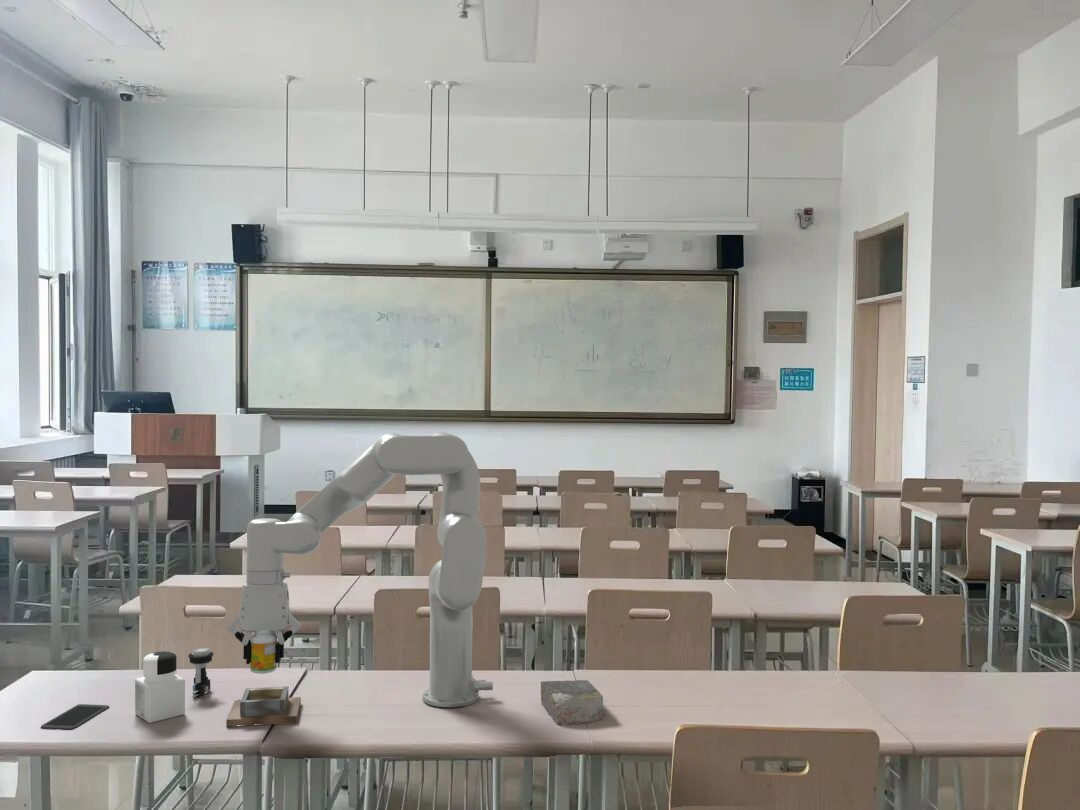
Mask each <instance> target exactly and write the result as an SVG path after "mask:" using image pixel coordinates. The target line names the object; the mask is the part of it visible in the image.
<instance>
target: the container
mask: <svg viewBox="0 0 1080 810" xmlns="http://www.w3.org/2000/svg"><path fill="white" fill-rule="evenodd" d="M142 663H143V664H142V665H143V673H142V674H143V675H142V676H141V677H136V678H135V680H134V683H135V684H134V698H135V699H134V713H135V715H137V716H138V717H139V718H141V719H143V720H145V721H146V722H147V723H150V724H152V723H156V722H160V721H163V720H168V719H173V718H176V717H179V716H184V715H185V713H186V680H185V678H183V677H181V676H179V674H177V655H176V654H175V653H174V652H171V651H166V650H165V651H156V652H152V653H149V654H147V655H146V656H144V658H143V661H142Z"/></svg>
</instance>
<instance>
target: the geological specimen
mask: <svg viewBox="0 0 1080 810" xmlns="http://www.w3.org/2000/svg"><path fill="white" fill-rule="evenodd" d="M540 703H541V706H542V707H543V708H544V710H545V711H546V712H547V713H548V715H549V716H550V717H551V719H552V721H554V722H555V724H556V726H571V725H580V724H589V723H592V722H595V721H599V720H600V721H601V720H603V715H602V713H603V712H602V711H603V710H602V709H603V705H604V697H603V694H602V693H601V692H600V691H599V690H598V689H597V688H596V687H595V686H594V685H593V684H592V683H591V682H590V681H589V680H588V679H586V680H585V679H583V680H581V679H577V680H542V681H540Z"/></svg>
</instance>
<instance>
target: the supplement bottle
mask: <svg viewBox="0 0 1080 810" xmlns="http://www.w3.org/2000/svg"><path fill="white" fill-rule="evenodd" d="M254 633H255V634H252V635H251V637H250V642H251V660H250V663H249V665H250V668H249V669H250V672H252V673H253V674H261V675H263V674H269V673H273V672H275V671H276V670H277V666H278V663H276V645H277V642H278V639H277V636H276V633H274V631H265V630H262V631H257V632H254Z"/></svg>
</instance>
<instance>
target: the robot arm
mask: <svg viewBox="0 0 1080 810" xmlns="http://www.w3.org/2000/svg"><path fill="white" fill-rule="evenodd" d="M396 475H397V476H398V475H400V476H431V475H432V476H433V475H438V476H439V475H440V477H441V482H442V483H441V484H442V493H441V505H440V513H439V518H438V519H439V520H438V526H437V531H436V532H437V533H436V534H437V535H436V537H437V541H438V543H439V545H440V546H441V547H442V554H441V560H438V561H437V562H436V563H435V564H434V565H433V566H432V568H431V570H430V572H429V576H428V598H429V599H428V600H429V688H427V689H426V690H424V691H423V693H422V700H423V702H424V703H425V704H427V705H430V706H433V707H437V708H460V707H465V706H469V705H472V704H474V703H476V702H477V701H478V700H479V698H480V696H479V695H480V694H479V691H493V689H494V685H493V680H492V681H491V680H490V681H487V680H486V679H476V678H474V675H473V626H474V625H473V620H474V619H473V605H474V604H475V603H476V602H477V601H478V599H479V597H480V595H481V592H482V588H483V582H484V581H483V580H484V571H485V565H486V555H487V547H488V546H487V545H488V544H487V543H488V542H487V541H488V540H487V533H486V530H485V527H484V525H483V524H482V522H480V521H479V512H480V511H479V510H480V499H481V476H480V471H479V467H478V465H477V462H476V460H475V458H474V456H473V455H472V453H471V452H470V450H469V448H468V446H467V444H466V442H465V441H464V440H463V439H462V438H461V437H458V436H457V435H453V434H451V433H448V432H436V433H434V434H432V435H403V434H398V433H395V432H394V433H393V432H391V433H385V434H383V435H382V436H380V437H379V438H377V439H376V440H375V441H373V443H372V444H371V445H370V446H369V447H367V448H366V450H364V451H363V452H362V453H361V454H360V455H359V456H358V457H357V458H356V459H354V460H353V461H352V462H351V463H350V464H349V465H347V467H346V468H345V469H343V471H341V472H340V473H339V474H338V475H336V477H334V478H333V479H332V480H331V481H330V482H329V483H328V484H327V485H326V486H324V487H323V488H322V489H321V490H319V492H317V493H316V494H315V495H314V496H313V497H311V498H310V499H309V500H308V501H307V502H306V503H304V504H303V506H301V507H300V508H299V509H298V510H297V511H296V512H295V513H293V514H292V515H291V517H290V518H289V519H288V520H287V521H282V520H280V519H278V518H273V517H272V518H270V517H269V518H268V517H267V518H266V517H265V518H254V519H252V520H250V521H249V522H248V524H247V529H246V582H244V583H243V584H242V589H241V595H240V602H239V612H238V615H237V616H236V617H235V618H234V619H233V620H232V621H231V622H230V624H229V625H228V626H227V628H226V630H227V631H228V632H230V633H231V634H232V635H233V636H234V637H235V639H237V640H238V641H239V642H240V643H241V644H242V645H243V656H242V657H243V658H242V659H243V660H245V664H246V665H250V660H251V637H252V635H253V633H255V632H257V631H262V630H265V631H273V632H274V634H275V635H276V636H277V645H276V663H277V664H280V662H281V660H282V659H284V657H285V652H284V651H285V643H286V642H287V640H288V639H290V638H291V637H292V636H293V635H294V634H295V633H296V632H298V631H299V629H300V628H301V623H300V622H299V621H298V620H297V618H295V617H294V615H293V614H292V613H291V612H290V595H289V594H290V593H289V587H288V583H287V581H284V580H285V579H288V578H291V571H287V570H285V567H284V560H285V559H284V555H285V554H289V555H296V556H298V555H299V556H305V555H310V554H311V553H313V552H314V551H316V550H317V549H318V548H319V546H320V544H321V541H322V534H323V533H324V532H326V530H327V529H329V527H331V526H332V525H333V524H334V523H336V522H337V521H338V520H339V519H340V518H342V517H343V516H345V515H346V514H347V513H349V512H350V511H353V510H356V509H359V508H360V507H362V506H363V505H365V504H366V503H368V502H369V501H370V500H371V499H372V498H373V497H375V496H374V495H376V494H377V493H379V491H380V490H381V489H382V488H384V487H385V486H386V484H387V483H389V482H390V481H391V480H392V479H393V478H394V477H395V476H396ZM288 625H291V627H290V628H288ZM287 628H288V629H287ZM286 629H287V630H286ZM285 630H286V631H285ZM284 631H285V632H284ZM243 632H245V633H243Z"/></svg>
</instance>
